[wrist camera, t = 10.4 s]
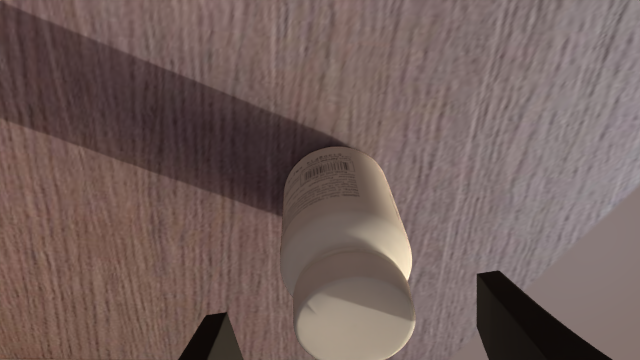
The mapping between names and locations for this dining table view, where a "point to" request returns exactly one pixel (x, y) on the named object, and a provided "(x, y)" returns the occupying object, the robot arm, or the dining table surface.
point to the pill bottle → (345, 258)
